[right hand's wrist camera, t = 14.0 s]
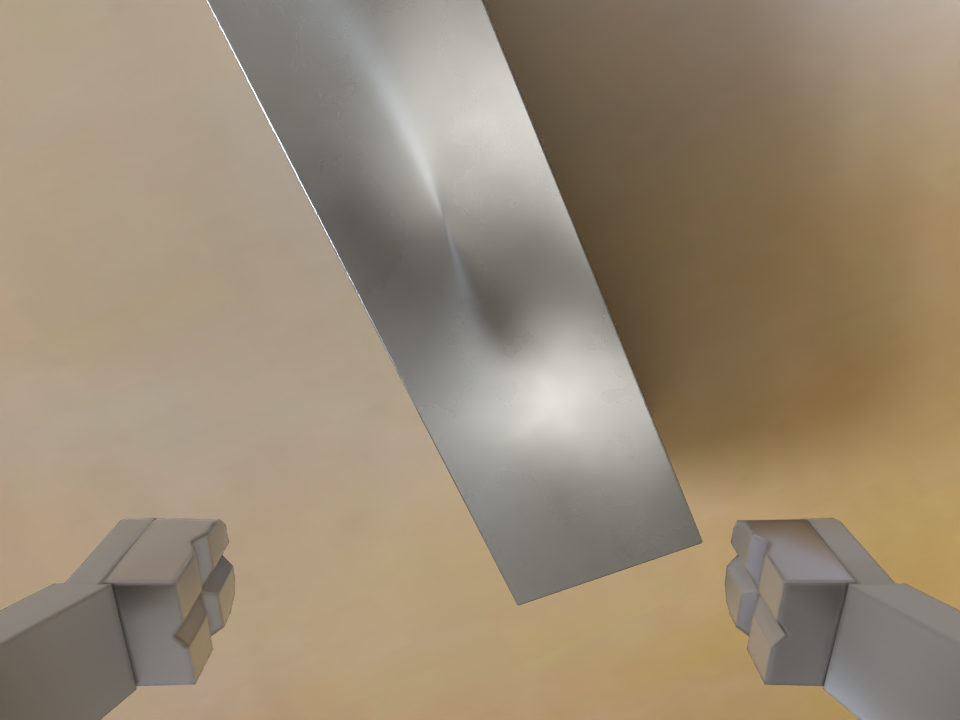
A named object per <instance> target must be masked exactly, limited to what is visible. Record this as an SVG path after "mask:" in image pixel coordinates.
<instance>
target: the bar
mask: <svg viewBox="0 0 960 720" xmlns="http://www.w3.org/2000/svg"><path fill="white" fill-rule="evenodd" d="M206 2H207V3H208V5H209V7H210V9H211V11H212V13H213V15H214V17H215V19H216V21H217V23H218V25H219V27H220V29H221V31H222V33H223V35H224V36H225V38H226V40H227V42H228V44H229V46H230V48H231V50H232V52H233V54H234V56H235V58H236V60H237V62H238V64H239V66H240V67H241V69H242V71H243V73H244V75H245V77H246V79H247V81H248V83H249V85H250V87H251V89H252V91H253V93H254V95H255V97H256V99H257V100H258V102H259V104H260V106H261V108H262V110H263V112H264V114H265V116H266V118H267V120H268V122H269V124H270V126H271V128H272V130H273V132H274V133H275V135H276V137H277V139H278V141H279V143H280V145H281V147H282V149H283V151H284V153H285V155H286V157H287V159H288V161H289V163H290V165H291V166H292V168H293V170H294V172H295V174H296V176H297V178H298V180H299V182H300V184H301V186H302V188H303V190H304V192H305V194H306V196H307V198H308V199H309V201H310V203H311V205H312V207H313V209H314V211H315V213H316V215H317V217H318V219H319V221H320V223H321V225H322V227H323V229H324V231H325V232H326V234H327V236H328V238H329V240H330V242H331V244H332V246H333V248H334V250H335V252H336V254H337V256H338V258H339V260H340V262H341V264H342V265H343V267H344V269H345V271H346V273H347V275H348V277H349V279H350V281H351V283H352V285H353V287H354V289H355V291H356V293H357V295H358V297H359V298H360V300H361V302H362V304H363V306H364V308H365V310H366V312H367V314H368V316H369V318H370V320H371V322H372V324H373V326H374V328H375V330H376V331H377V333H378V335H379V337H380V339H381V341H382V343H383V345H384V347H385V349H386V351H387V353H388V355H389V357H390V359H391V361H392V363H393V364H394V366H395V368H396V370H397V372H398V374H399V376H400V378H401V380H402V382H403V384H404V386H405V388H406V390H407V392H408V394H409V396H410V397H411V399H412V401H413V403H414V405H415V407H416V409H417V411H418V413H419V415H420V417H421V419H422V421H423V423H424V425H425V427H426V429H427V430H428V432H429V434H430V436H431V438H432V440H433V442H434V444H435V446H436V448H437V450H438V452H439V454H440V456H441V458H442V460H443V461H444V463H445V465H446V467H447V469H448V471H449V473H450V475H451V477H452V479H453V481H454V483H455V485H456V487H457V489H458V491H459V493H460V494H461V496H462V498H463V500H464V502H465V504H466V506H467V508H468V510H469V512H470V514H471V516H472V518H473V520H474V522H475V524H476V526H477V527H478V529H479V531H480V533H481V535H482V537H483V539H484V541H485V543H486V545H487V547H488V549H489V551H490V553H491V555H492V557H493V559H494V560H495V562H496V564H497V566H498V568H499V570H500V572H501V574H502V576H503V578H504V580H505V582H506V584H507V586H508V588H509V590H510V592H511V593H512V595H513V597H514V599H515V601H516V603H517V605H521V604H524V603H527V602H530V601H533V600H536V599H539V598H542V597H545V596H548V595H551V594H554V593H557V592H559V591H562V590H565V589H568V588H571V587H574V586H577V585H580V584H583V583H586V582H589V581H592V580H595V579H598V578H601V577H604V576H606V575H609V574H612V573H615V572H618V571H621V570H624V569H627V568H630V567H633V566H636V565H639V564H642V563H645V562H648V561H651V560H654V559H656V558H659V557H662V556H665V555H668V554H671V553H674V552H677V551H680V550H683V549H686V548H689V547H692V546H695V545H698V544H701V543H702V539H701V536H700V534H699V531H698V529H697V527H696V524H695V522H694V519H693V517H692V514H691V512H690V509H689V507H688V504H687V502H686V499H685V497H684V494H683V492H682V489H681V487H680V485H679V482H678V480H677V477H676V475H675V472H674V470H673V467H672V465H671V462H670V460H669V457H668V455H667V452H666V450H665V447H664V445H663V442H662V440H661V438H660V435H659V433H658V430H657V428H656V425H655V423H654V420H653V418H652V415H651V413H650V410H649V408H648V405H647V403H646V400H645V398H644V396H643V393H642V391H641V388H640V386H639V383H638V381H637V378H636V376H635V373H634V371H633V368H632V366H631V363H630V361H629V358H628V356H627V353H626V351H625V349H624V346H623V344H622V341H621V339H620V336H619V334H618V331H617V329H616V326H615V324H614V321H613V319H612V316H611V314H610V311H609V309H608V306H607V304H606V302H605V299H604V297H603V294H602V292H601V289H600V287H599V284H598V282H597V279H596V277H595V274H594V272H593V269H592V267H591V264H590V262H589V260H588V257H587V255H586V252H585V250H584V247H583V245H582V242H581V240H580V237H579V235H578V232H577V230H576V227H575V225H574V222H573V220H572V217H571V215H570V213H569V210H568V208H567V205H566V203H565V200H564V198H563V195H562V193H561V190H560V188H559V185H558V183H557V180H556V178H555V175H554V173H553V170H552V168H551V166H550V163H549V161H548V158H547V156H546V153H545V151H544V148H543V146H542V143H541V141H540V138H539V136H538V133H537V131H536V128H535V126H534V124H533V121H532V119H531V116H530V114H529V111H528V109H527V106H526V104H525V101H524V99H523V96H522V94H521V91H520V89H519V86H518V84H517V81H516V79H515V77H514V74H513V72H512V69H511V67H510V64H509V62H508V59H507V57H506V54H505V52H504V49H503V47H502V44H501V42H500V39H499V37H498V35H497V32H496V30H495V27H494V25H493V22H492V20H491V17H490V15H489V12H488V10H487V7H486V5H485V2H484V0H206Z"/></svg>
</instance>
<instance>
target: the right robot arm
mask: <svg viewBox="0 0 960 720" xmlns="http://www.w3.org/2000/svg"><path fill="white" fill-rule="evenodd" d="M228 544H229V539H228V534H227V529H226V525H225V524H224V523H223V522H222V521H221V520H218V519H170V518H159V519H156V518H128V519H124V520H121V521H120V522H119V523H118V524H117V525H116V526H115V527H114V528H113V529H112V530H111V532H110V533H109V534H108V535H107V536H106V537H105V538H104V539H103V541H102V542H101V543H100V544H99V545H98V546H97V547H96V549H95V550H94V551H93V552H92V553H91V554H90V555H89V556H88V558H87V559H86V560H85V561H84V562H83V563H82V564H81V566H80V567H79V568H78V569H77V570H76V571H75V572H74V573H73V575H72V576H71V577H70V578H69V579H68V580H67V581H66V582H65V584H53V585H51V586H49V587H47V588H45V589H43V590H41V591H39V592H37V593H35V594H33V595H31V596H29V597H27V598H25V599H23V600H21V601H19V602H17V603H15V604H13V605H11V606H9V607H7V608H5V609H3V610H1V611H0V720H100V719H102V718H103V717H104V716H105V715H106V714H108V713H109V712H110V711H111V710H112V709H114V708H115V707H116V706H117V705H118V704H120V703H121V702H122V701H123V700H124V699H126V698H127V697H128V696H129V695H130V694H131V693H133V692H134V691H135V690H136V686H156V685H190V684H196V682H197V680H198V678H199V676H200V674H201V672H202V670H203V668H204V666H205V664H206V662H207V660H208V658H209V656H210V654H211V652H212V650H213V646H212V640H211V636H212V635H213V634H215V633H216V632H218V631H219V630H220V629H222V628H223V627H224V626H225V624H226V622H227V619H228V617H229V615H230V613H231V609H232V604H233V600H234V595H235V576H234V569H233V565H232V564H231V563H230V562H229V561H228V560H227V559H226V558H225V557H224V556H223V555H222V554H223V553H224V551H225V549H226V547H227V545H228ZM731 544H732V546H733V547H734V549H735V551H736V553H737V554H738V555H737V556H736V557H735V558H734V559H733V560H732V561H731V562H730V563H729V564H728V565H727V570H726V578H725V592H726V602H727V605H728V609H729V612H730V615H731V617H732V620H733V622H734V624H735V626H736V627H737V628H738V629H740V630H741V631H742V632H744V633H745V634H747V635H748V636H749V640H748V646H747V650H748V652H749V654H750V656H751V658H752V660H753V662H754V664H755V666H756V668H757V670H758V672H759V674H760V676H761V678H762V680H763V682H764V684H768V685H803V686H824V688H823V689H824V690H825V691H826V692H828V693H829V694H830V695H831V696H832V697H834V698H835V699H836V700H837V701H838V702H840V703H841V704H842V705H843V706H844V707H845V708H847V709H848V710H849V711H850V712H851V713H853V714H854V715H855V716H856V717H857V718H859V719H860V720H960V611H959V610H957V609H955V608H953V607H951V606H949V605H947V604H945V603H943V602H941V601H939V600H937V599H935V598H933V597H931V596H929V595H927V594H925V593H923V592H921V591H919V590H917V589H915V588H913V587H911V586H909V585H907V584H895V583H894V581H893V580H892V579H891V578H890V577H889V576H888V575H887V573H886V572H885V571H884V570H883V569H882V568H881V567H880V566H879V564H878V563H877V562H876V561H875V560H874V559H873V558H872V557H871V555H870V554H869V553H868V552H867V551H866V550H865V549H864V547H863V546H862V545H861V544H860V543H859V542H858V541H857V540H856V538H855V537H854V536H853V535H852V534H851V533H850V532H849V530H848V529H847V528H846V527H845V526H844V525H843V524H842V523H841V522H840V521H839V520H836V519H834V518H809V519H793V520H737V522H736V524H735V526H734V528H733V533H732V538H731Z"/></svg>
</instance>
